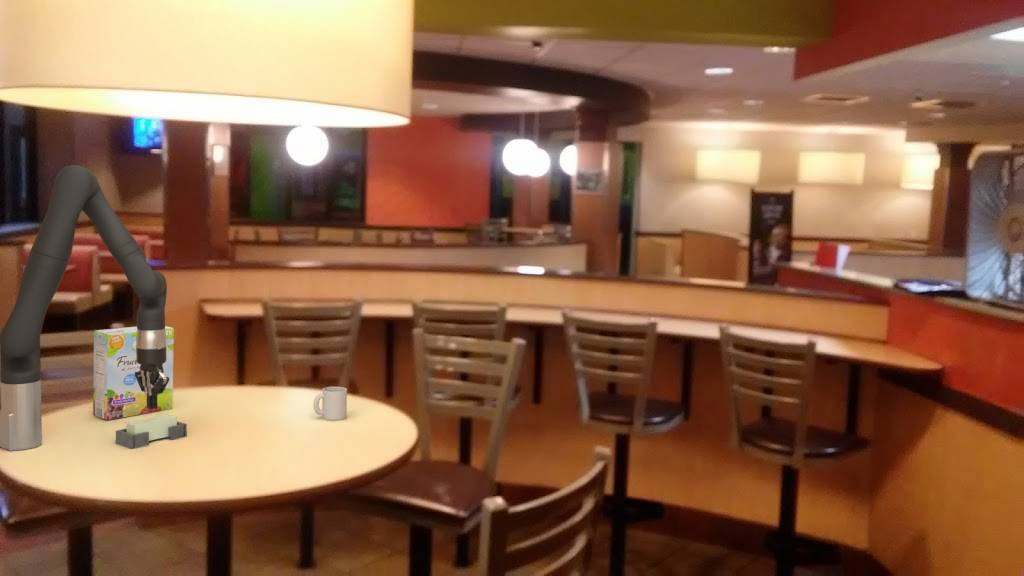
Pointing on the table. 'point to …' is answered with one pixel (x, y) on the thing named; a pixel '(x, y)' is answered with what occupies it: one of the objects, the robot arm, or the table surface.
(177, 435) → the end cap
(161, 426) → the slat
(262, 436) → the table surface
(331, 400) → the cup
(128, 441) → the end cap
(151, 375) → the robot arm
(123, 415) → the snack box
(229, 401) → the table surface
